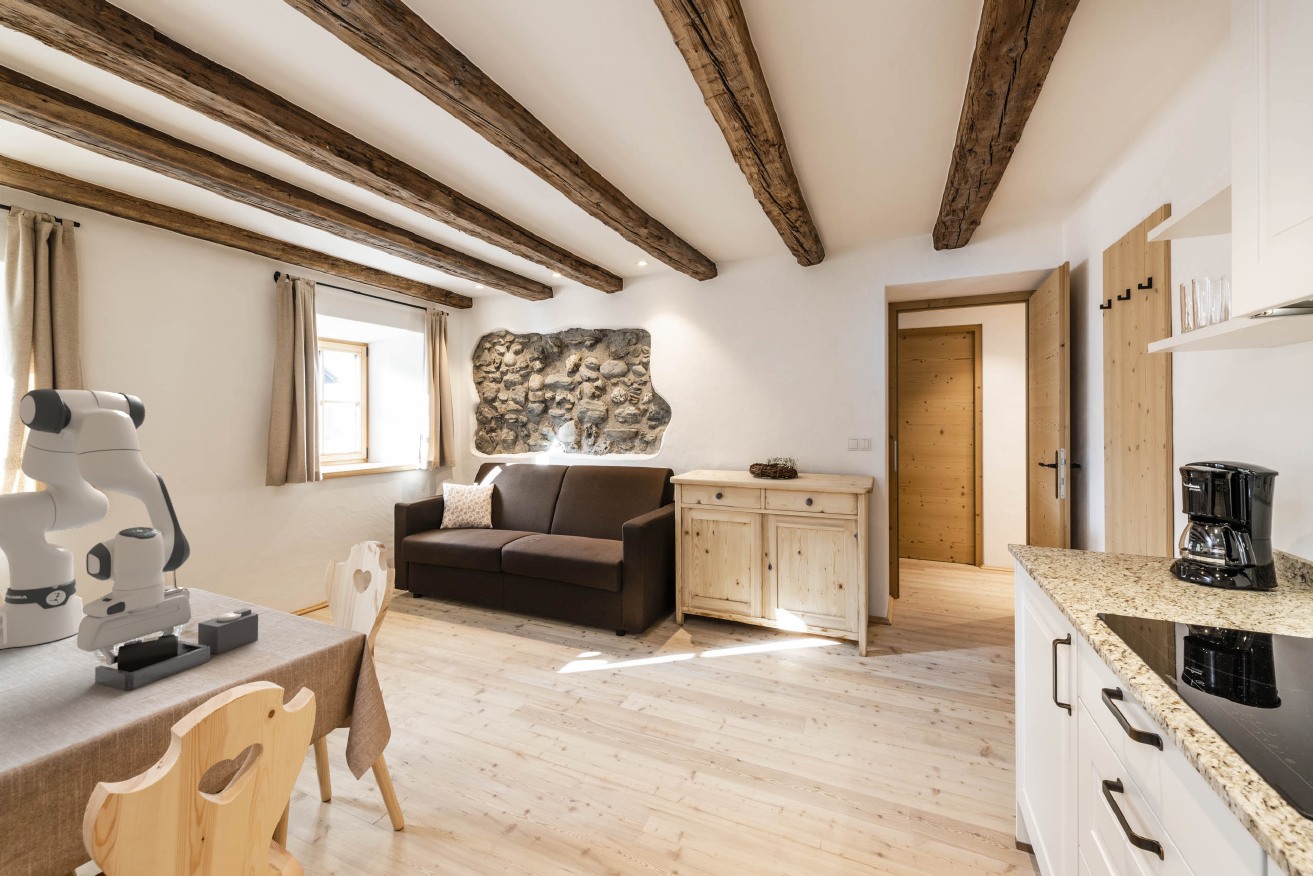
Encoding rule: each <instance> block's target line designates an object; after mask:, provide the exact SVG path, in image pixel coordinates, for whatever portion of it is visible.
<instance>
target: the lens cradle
mask: <svg viewBox="0 0 1313 876" xmlns="http://www.w3.org/2000/svg"><path fill="white" fill-rule="evenodd" d="M209 661H211V653H210V646H205V645H200V644H198V643H195V642H189V641H185V640H181V639H178V656H177V657H174V658H171V659H168V660H165V661H162V662H159V663H157V664H154V665H151V666H148V667H145V668H142V669H139V670H136V671H134V672H127V671H123V670H118V668H113V667H111V666H105V665H98V666H95V667H94V668H95V670H94V673H95V674H94V683H95V684H99V685H102V686H105V687H110V688H114V689H118V690H122V691H126V692H130V691H132V690H135V689H137V688H140V687H143V686H145V685H149V684H151V683H153V682H156V681H159V680H162V679H164V678H167V677H169V676H174V675H175V674H178V673H181V672H184V671H186V670H188V669H191V668H194V667H197V666H199V665H201V664H204V663H207V662H209Z"/></svg>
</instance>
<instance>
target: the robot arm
mask: <svg viewBox="0 0 1313 876" xmlns="http://www.w3.org/2000/svg"><path fill="white" fill-rule="evenodd" d="M138 397H139V396H135V395H132V394H129V393H125V392H118V393H116V392H110V391H102V390H94V389H84V390H82V389H53V388H39V389H38V388H37V389H33V390H29V391H28V392H26V393H25V394H24V395H23V397H22V398H21V399H20V402H19V407H18V412H19V413H18V414H19V419H20V421H21V422H22V424H23V425H24V426H26V427H27V428H28V429H30V430H29V432H28V435H27V439H26V443H25V446H24V452H23V456H22V460H21V465H20V467H21V470H22V473H23V474H25V476H27V477H28V478H30V479H31V480H33V481H34V480H35V481H36V482H40V483H43V484H47V485H46V488H45V489H44V490H41V491H29V492H15V493H14V492H13V493H4V494H0V549H1V551H3V553H4V555H5V556H6V558H7V562H8V570H9V587H7V588H6V592H5V596H4V597H5V599H4V603H3V604H2V605H1V606H0V650H1V649H8V648H18V647H19V648H20V647H27V646H34V645H39V644H40V645H41V644H45V643H46V644H47V643H50V642H54V641H58V640H61V639H65V638H69V637H70V636H73V635H76V634H77V638H76V640H77V641H76V645H77V648H78V649H79V650H81V651H84V652H88V653H89V652H90V653H92V652H95V651H100V653H101V654H102V655H104V657H105V663H106V665H107V666H112V665H114V664H117V662H118V654H117V653H113V652H112V651H113V650H114V646H115V645H119V644H122V643H124V642H125V643H127V642H130V641H133V640H135V639H138V638H141V637H145V636H149V635H153V634H155V633H159V632H162V634H161V636H166V635H169V634H170V635H172V634H173V633H174V632H175V628H176V627H180V626H182V625H185V624H187V623H189V621H190V620H191V619H192V610H191V604H190V590H189V589H188V588H185V587H182V586H180V587H176V588H173V589H167V590H165V586H166V585H165V584H166V583H165V577H164V574H163V573H167V572H168V573H169V572H174V571H176V570H179V568H180V567H181V566H183V565H184V563H185V562H186V561H187V560H188V559H189V557H190V554H191V549H190V548H191V547H190V545H189V541H188V539H187V538H186V536H185V534H184V532H183V530H182V528H181V526H180V522H179V519H178V517H177V515H176V512H175V508H174V506H173V502H172V500H171V497H170V494H169V491H168V488H167V486H166V484H165V482H164V479H163V478H162V476H161V475H160V474H159V473H157V472H155V471H152V470H151V469H150V468H149V467H148V465H147V464H146V463H145V461H144V459H143V456H142V453H141V452H142V451H141V445H140V440H139V439H140V438H139V436H138V432H137V429H139V427H141V426H142V425H143V423H144V421H145V418H146V409H145V405H144V403H143V402H142V400H141V399H140V398H138ZM99 489H101V490H104V491H109V492H112V493H113V492H114V493H119V494H124V495H128V496H131V497H133V498H135V499H138V500H139V501H141V502H142V503H143V504H144V505H145V507H146V510H147V513H148V516H149V519H150V522H151V525H152V527H151V526H150V527H147V526H145V527H144V526H135V527H129V528H125V529H122V530H121V531H118V532H117V533H116V534H115V536H114V538H111V539H108V540H105V541H103V542H102V541H101V542H98V543H97V544H95V545H94V546H93V547H92V548H91V549H90V550H89V551H88V552H87V554H86V558H85V559H86V560H85V563H86V564H85V565H86V573H87V574H88V575H89V576H90V577H92V578H95V579H97V580H99V581H113V585H112V591H111V592H109V593H107V594H105V595H103V596H101V597H99V598H97V599H95V600H92V601H90V602H89V603H87V604H85V605H83V598H82V597H80V596H79V595H76V592H77V586H78V585H77V581H76V579H75V578H74V572H75V571H74V568H75V567H74V566H75V564H74V561H75V560H74V559H75V557H74V553H73V551H72V550H71V549H69V548H67V547H66V546H62V545H58V544H54V543H49V542H48V541H47V539H46V537H45V535H46V534H45V533H49V532H55V531H56V532H57V531H63V530H64V531H67V530H73V529H79V528H80V529H81V528H84V527H88V526H91V525H95V524H97V523H101V522H103V520H105V519H106V517H107V516H108V514H109V512H110V509H111V507H110V506H111V504H110V501H109V498H108V497H107V496H106V495H105V493H104V492H102V491H100V490H99ZM84 615H85V616H84Z"/></svg>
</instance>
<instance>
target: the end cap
mask: <svg viewBox="0 0 1313 876" xmlns="http://www.w3.org/2000/svg"><path fill="white" fill-rule="evenodd" d="M178 640H179V636H178V635H176V634H173V633H172V635H170V634H169V635H166V636H162V635H161V636H158V639H153V640H147V641H143V639H137V640H134V641H133V640H129V641H126V642H125V643H124V644H123V645H120V646H119V647H118V651H117V655H118V662H117V663H116V665H117V669H118V670H123V671H127V672H134V671H136V670H139V669H142V668H145V667H148V666H151V665H154V664H157V663H159V662H162V661H165V660H168V659H171V658H174V657H177V656H178Z"/></svg>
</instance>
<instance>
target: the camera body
mask: <svg viewBox="0 0 1313 876" xmlns="http://www.w3.org/2000/svg"><path fill="white" fill-rule="evenodd" d="M197 623H198V622H197ZM197 625H198V627H197V628H198V629H197V631H198V632H197V633H198V634H197V635H198V637H197V640H198V642H197V644H200V645H205V646H210V654H213V655H220V654H223V653H225V652H228V651H230V650H234V649H236V648H239V647H241V646H244V645H247V644H250V643H253V642H256V641H257V640H258V639H259V613H254V612H252V609H251V608H246V607H244V608H242V609H239V610H235V611H232V612H227V613H222V614H220V615H217V617H215V618H211V619H209V620H205V621H204V620H203V621H202V622H201V621H200V622H199V623H198V624H197Z"/></svg>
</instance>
